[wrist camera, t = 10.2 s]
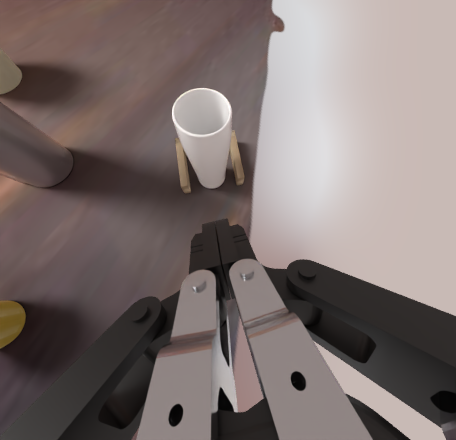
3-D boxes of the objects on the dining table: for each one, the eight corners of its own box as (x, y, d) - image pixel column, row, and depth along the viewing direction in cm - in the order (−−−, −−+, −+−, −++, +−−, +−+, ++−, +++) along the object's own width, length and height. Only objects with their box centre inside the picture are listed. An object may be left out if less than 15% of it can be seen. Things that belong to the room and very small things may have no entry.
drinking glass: (218, 156, 34) (214, 78, 19) (235, 183, 32) (244, 120, 18) (188, 171, 33) (160, 100, 18) (204, 199, 31) (188, 147, 17)
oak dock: (184, 193, 32) (179, 184, 28) (179, 147, 34) (173, 133, 30) (242, 184, 32) (245, 174, 29) (233, 139, 35) (234, 125, 31)
